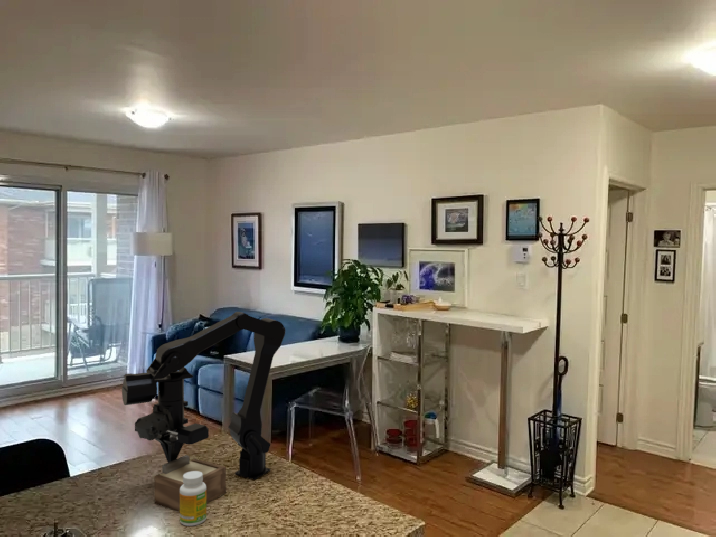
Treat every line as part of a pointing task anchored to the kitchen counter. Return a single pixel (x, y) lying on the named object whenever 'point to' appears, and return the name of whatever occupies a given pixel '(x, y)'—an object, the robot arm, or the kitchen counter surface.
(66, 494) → the kitchen counter surface
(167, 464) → the lid
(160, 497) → the box
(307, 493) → the kitchen counter surface
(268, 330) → the robot arm
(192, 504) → the supplement bottle
